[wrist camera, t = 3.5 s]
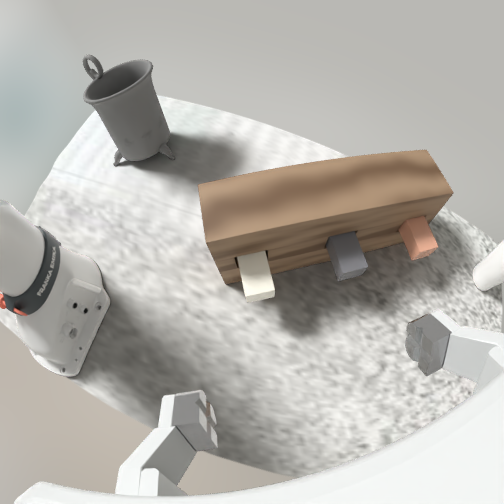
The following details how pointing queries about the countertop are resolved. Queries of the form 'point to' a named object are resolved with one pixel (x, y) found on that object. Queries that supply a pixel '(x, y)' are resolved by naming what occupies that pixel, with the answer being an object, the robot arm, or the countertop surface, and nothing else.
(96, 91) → the grey footed pot
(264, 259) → the cream key
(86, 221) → the countertop surface
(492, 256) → the drinking glass
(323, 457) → the countertop surface
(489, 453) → the robot arm
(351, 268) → the charcoal key
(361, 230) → the console
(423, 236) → the terracotta key
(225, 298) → the countertop surface
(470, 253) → the countertop surface
